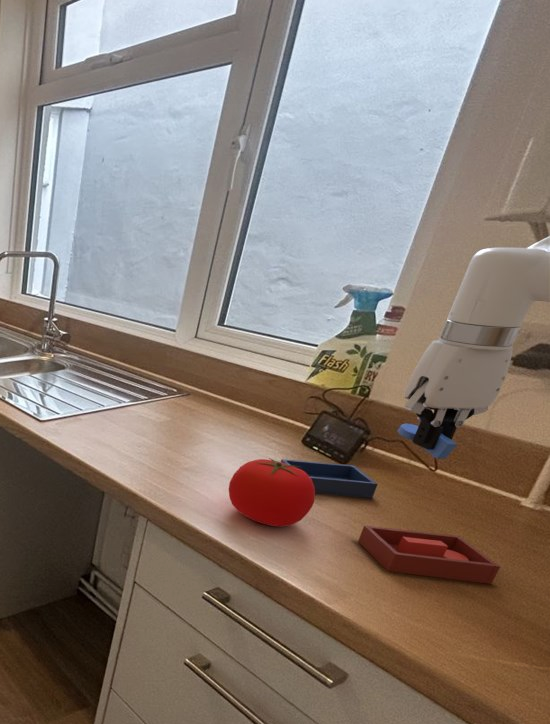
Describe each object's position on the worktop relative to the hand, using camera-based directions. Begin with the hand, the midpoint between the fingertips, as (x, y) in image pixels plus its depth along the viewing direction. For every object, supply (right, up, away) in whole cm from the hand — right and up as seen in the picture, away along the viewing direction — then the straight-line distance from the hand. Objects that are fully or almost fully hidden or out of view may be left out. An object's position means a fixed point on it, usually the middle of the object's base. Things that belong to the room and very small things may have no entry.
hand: (429, 445), depth 85 cm
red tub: (-8, -17, -7) cm, 20 cm away
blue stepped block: (0, 0, +1) cm, 1 cm away
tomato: (-24, -13, +5) cm, 27 cm away
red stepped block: (-7, -17, -7) cm, 20 cm away
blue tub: (-4, -8, +15) cm, 18 cm away
